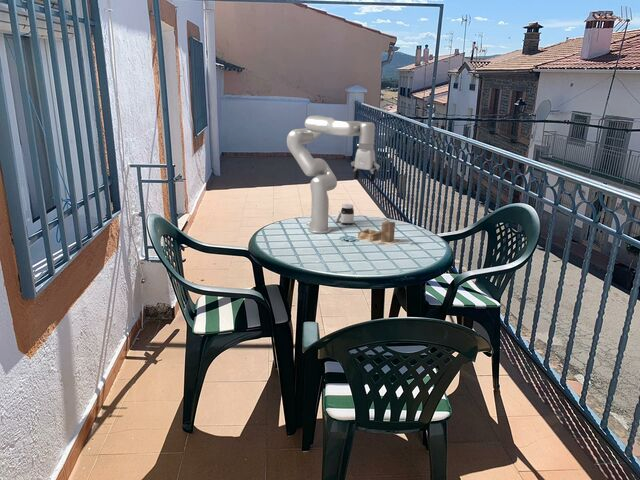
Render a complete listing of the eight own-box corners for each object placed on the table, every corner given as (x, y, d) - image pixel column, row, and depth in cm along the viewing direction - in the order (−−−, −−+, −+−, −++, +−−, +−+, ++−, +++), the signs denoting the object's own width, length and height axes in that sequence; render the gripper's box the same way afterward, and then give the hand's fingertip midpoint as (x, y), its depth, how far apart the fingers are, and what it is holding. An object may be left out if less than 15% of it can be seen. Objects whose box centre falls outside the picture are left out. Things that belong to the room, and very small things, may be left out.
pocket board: (353, 239, 270) (354, 232, 269) (368, 234, 281) (368, 227, 280) (389, 247, 257) (390, 240, 256) (403, 242, 268) (403, 235, 267)
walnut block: (380, 240, 265) (381, 222, 263) (385, 239, 269) (386, 220, 266) (389, 242, 262) (390, 224, 260) (393, 240, 266) (395, 222, 263)
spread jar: (354, 226, 299) (355, 206, 296) (335, 225, 299) (335, 206, 296) (352, 221, 311) (352, 202, 308) (333, 221, 310) (334, 202, 307)
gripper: (348, 145, 261) (346, 178, 265) (376, 149, 251) (374, 183, 255) (356, 145, 266) (354, 177, 271) (384, 148, 256) (382, 181, 261)
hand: (364, 180), depth 263 cm, fingers open, 9 cm apart
